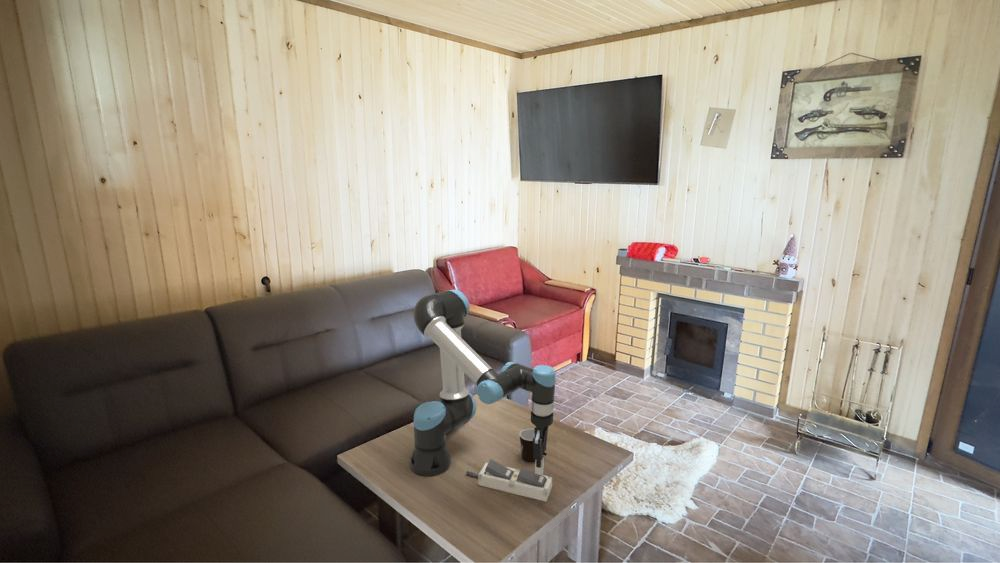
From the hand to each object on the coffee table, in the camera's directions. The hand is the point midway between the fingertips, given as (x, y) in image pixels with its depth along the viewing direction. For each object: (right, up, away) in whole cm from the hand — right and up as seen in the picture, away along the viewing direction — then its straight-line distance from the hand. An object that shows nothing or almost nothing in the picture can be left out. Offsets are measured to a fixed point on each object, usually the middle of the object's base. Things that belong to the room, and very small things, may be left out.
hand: (538, 473), depth 163 cm
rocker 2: (-2, -2, +1) cm, 4 cm away
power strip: (-11, -6, +5) cm, 14 cm away
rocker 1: (-14, -1, +5) cm, 15 cm away
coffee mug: (-1, -2, +23) cm, 23 cm away
